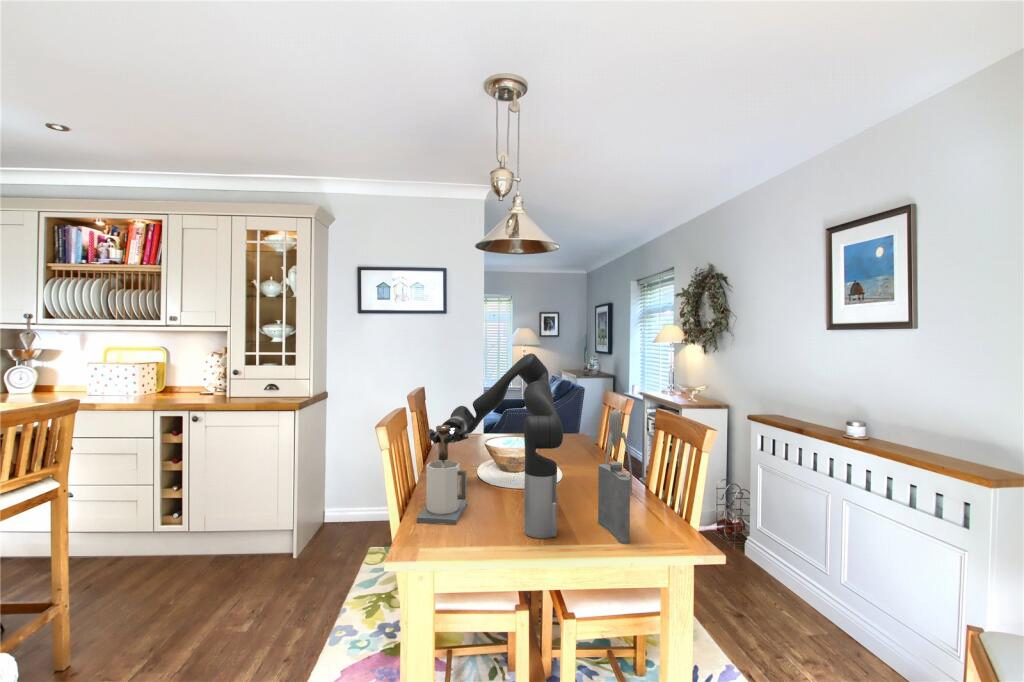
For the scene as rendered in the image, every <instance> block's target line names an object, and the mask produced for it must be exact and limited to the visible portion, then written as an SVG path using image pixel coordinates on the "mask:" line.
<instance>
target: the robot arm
mask: <svg viewBox="0 0 1024 682" xmlns="http://www.w3.org/2000/svg"><path fill="white" fill-rule="evenodd" d="M517 376H518V377H520V378H521V379H522V380H523V382H525V384H526V387H525V389H524V391H523V400H524V401H523V402H524V405H525V409H526V410H527V412H528V413H529V414H531V415H528V416H527V417H526V418H525V420H524V422H523V423H524V424H523V441H524V490H523V491H524V499H523V500H524V503H523V504H524V506H523V507H524V509H523V510H524V512H523V513H524V516H523V518H524V520H523V526H524V527H523V529H524V530H523V532H524V534H525V535H526V536H528V537H531V538H536V539H547V538H548V539H549V538H553V537H554V538H555V537H556V538H557V535H558V532H557V531H558V496H557V495H558V464H557V462H556V461H554V460H553V459H551V458H548V457H546V456H543V455H541V454H539V453H538V452H537V449H539V450H544V449H545V450H547V449H549V450H551V449H552V450H553V449H558V448H559V447H561V445H562V444H563V440H564V428H563V425H562V421H561V418H560V417H559V414H558V412H557V410H556V409H557V408H556V406H555V402H554V396H553V393H552V389H551V386H550V382H549V381H550V379H549V376H550V375H549V370H548V369H547V367H546V366H545V364H544V363H543V362H542V361H541V360H540V359H539V357H538V356H537V355H536V354H535V353H527V354H525V355H524V356H522V357H521V358H520V359H519V360H517V362H516V363H514V364H513V365H512V366H511V367H510V368H509V369H508V370H507V371H506V372H505V373H504V374H503V375H502V376H501V377H500V378H499V379H498V380H497V381H496V383H494V384H493V385H492V386H491V387H489V388H488V390H486V391H485V392H483V394H480V395H479V396H478V397H477V398H476V399H474V400H473V401H472V407H473V410H474V411H475V416H474V415H473V413H472V412H471V410H470V409H469V408H468V407H467V406H464V405H459V406H457V407H456V408H454V409H453V410H452V412H451V415H450V417H449V419H447V420H445V421H444V422H443V423H442V424H441V425H449V426H450V431H448V435H447V436H446V438H445V443H446V444H448V445H449V444H451V443H452V444H453V443H456V442H457V443H458V442H462V441H464V440H467V439H469V435H470V434H472V433H473V432H474V431H475V430H476V429H477V427H478V426H479V424H480V423H481V422H482V420H484V418H485V417H486V416H488V415H489V414H490V413H491V412H493V411H494V410H495V409H497V408H498V407H499V406H500V405H501V404H502V403H503V401H504V399H505V397H506V394H507V391H508V389H509V387H510V384H511V383H512V382H513V380H515V379H516V377H517ZM428 438H429V440H430V441H431V442H433V444H437V445H438V431H436V430H434V429H432V428H429V429H428Z"/></svg>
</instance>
